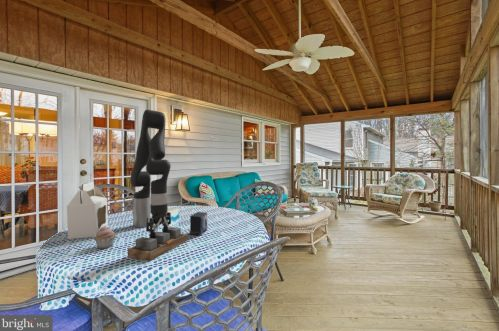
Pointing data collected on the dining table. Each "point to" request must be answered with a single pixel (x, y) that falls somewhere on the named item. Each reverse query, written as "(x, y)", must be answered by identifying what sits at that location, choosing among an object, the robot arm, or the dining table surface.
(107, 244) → the cupcake
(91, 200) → the gable box
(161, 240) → the block
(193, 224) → the small box
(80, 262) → the dining table surface
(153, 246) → the rack
